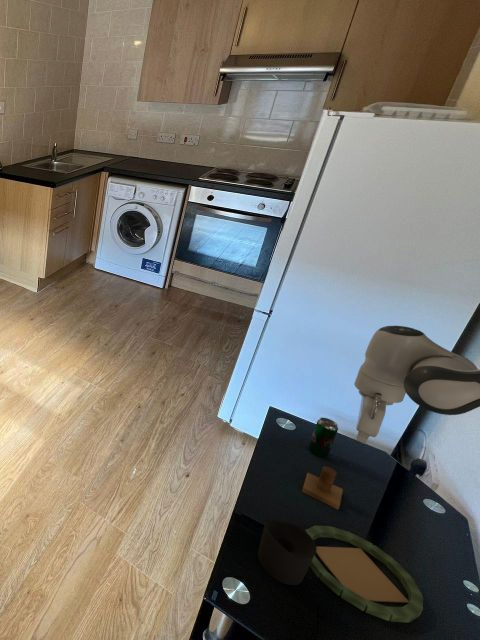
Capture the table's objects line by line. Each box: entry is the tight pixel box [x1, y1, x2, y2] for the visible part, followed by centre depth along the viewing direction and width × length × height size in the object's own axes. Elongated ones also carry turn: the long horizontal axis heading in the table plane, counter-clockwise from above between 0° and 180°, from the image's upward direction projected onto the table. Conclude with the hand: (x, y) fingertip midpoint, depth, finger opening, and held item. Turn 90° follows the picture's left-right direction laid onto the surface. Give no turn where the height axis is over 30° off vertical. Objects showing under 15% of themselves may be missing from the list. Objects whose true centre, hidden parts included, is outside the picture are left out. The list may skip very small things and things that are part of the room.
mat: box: [315, 545, 408, 604], centre depth 95 cm, size 12×12×1 cm
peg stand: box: [301, 465, 344, 511], centre depth 115 cm, size 8×8×8 cm
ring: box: [304, 525, 424, 623], centre depth 95 cm, size 21×21×2 cm
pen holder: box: [257, 517, 317, 586], centre depth 94 cm, size 9×9×10 cm
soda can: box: [308, 417, 339, 458], centre depth 129 cm, size 5×5×12 cm
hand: (362, 431), depth 105 cm, fingers open, 8 cm apart
